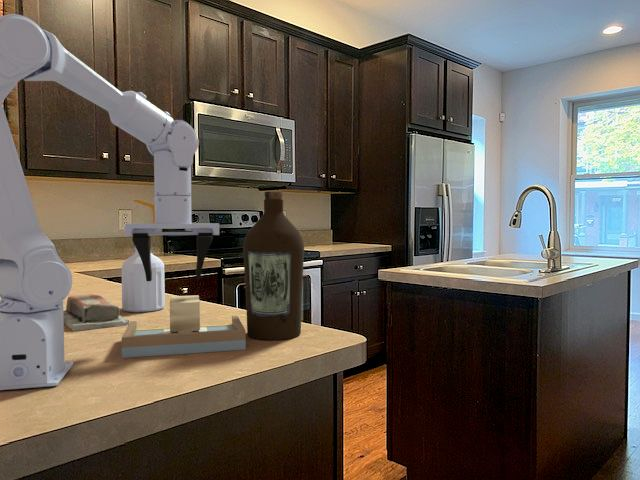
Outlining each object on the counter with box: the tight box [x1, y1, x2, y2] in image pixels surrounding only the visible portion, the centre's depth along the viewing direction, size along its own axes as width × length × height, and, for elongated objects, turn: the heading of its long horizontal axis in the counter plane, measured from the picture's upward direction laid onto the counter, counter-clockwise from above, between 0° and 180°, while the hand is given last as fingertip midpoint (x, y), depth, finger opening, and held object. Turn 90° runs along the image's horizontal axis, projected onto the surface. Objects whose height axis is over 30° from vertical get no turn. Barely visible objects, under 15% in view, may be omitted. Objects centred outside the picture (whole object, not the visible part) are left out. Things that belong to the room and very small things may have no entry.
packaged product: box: [63, 293, 130, 332], centre depth 100 cm, size 18×5×10 cm
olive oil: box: [242, 191, 305, 341], centre depth 87 cm, size 11×11×25 cm
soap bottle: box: [120, 199, 166, 313], centre depth 112 cm, size 9×9×25 cm
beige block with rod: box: [169, 294, 201, 333], centre depth 81 cm, size 8×4×6 cm, turn 15°
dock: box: [121, 315, 247, 359], centre depth 81 cm, size 12×18×3 cm, turn 105°
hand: (174, 279), depth 81 cm, fingers open, 7 cm apart
